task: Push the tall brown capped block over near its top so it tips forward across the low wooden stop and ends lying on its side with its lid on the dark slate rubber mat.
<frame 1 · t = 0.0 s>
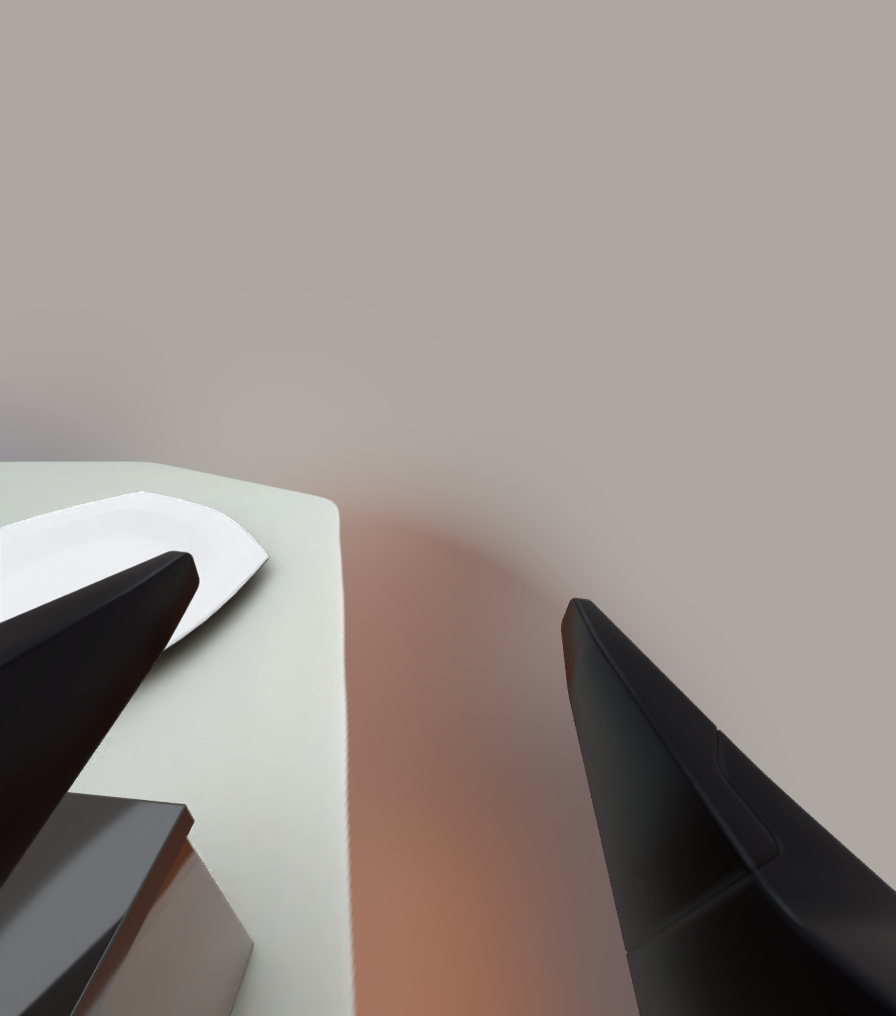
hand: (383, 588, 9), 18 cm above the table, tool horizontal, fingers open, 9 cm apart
plate: (93, 593, 31), on the table
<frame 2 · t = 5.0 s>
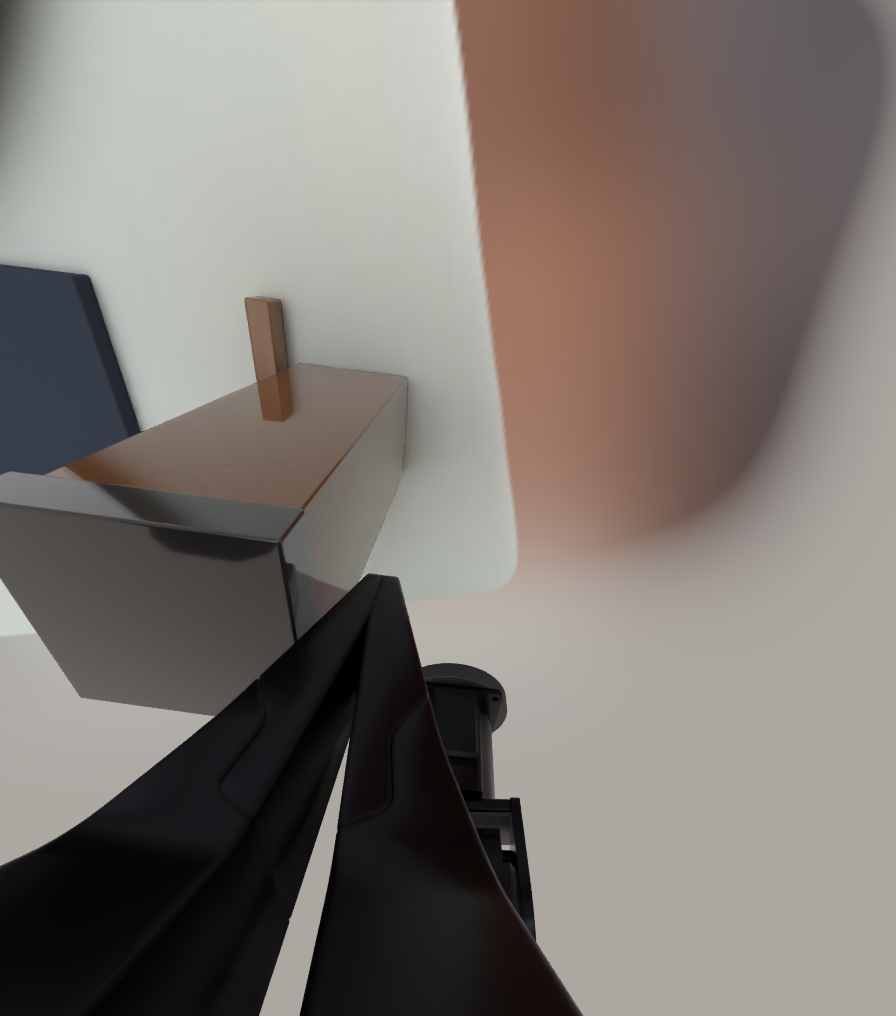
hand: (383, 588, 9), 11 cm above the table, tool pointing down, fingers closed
stop: (283, 414, 18), on the table
brown capped block: (354, 422, 18), on the table, touching gripper
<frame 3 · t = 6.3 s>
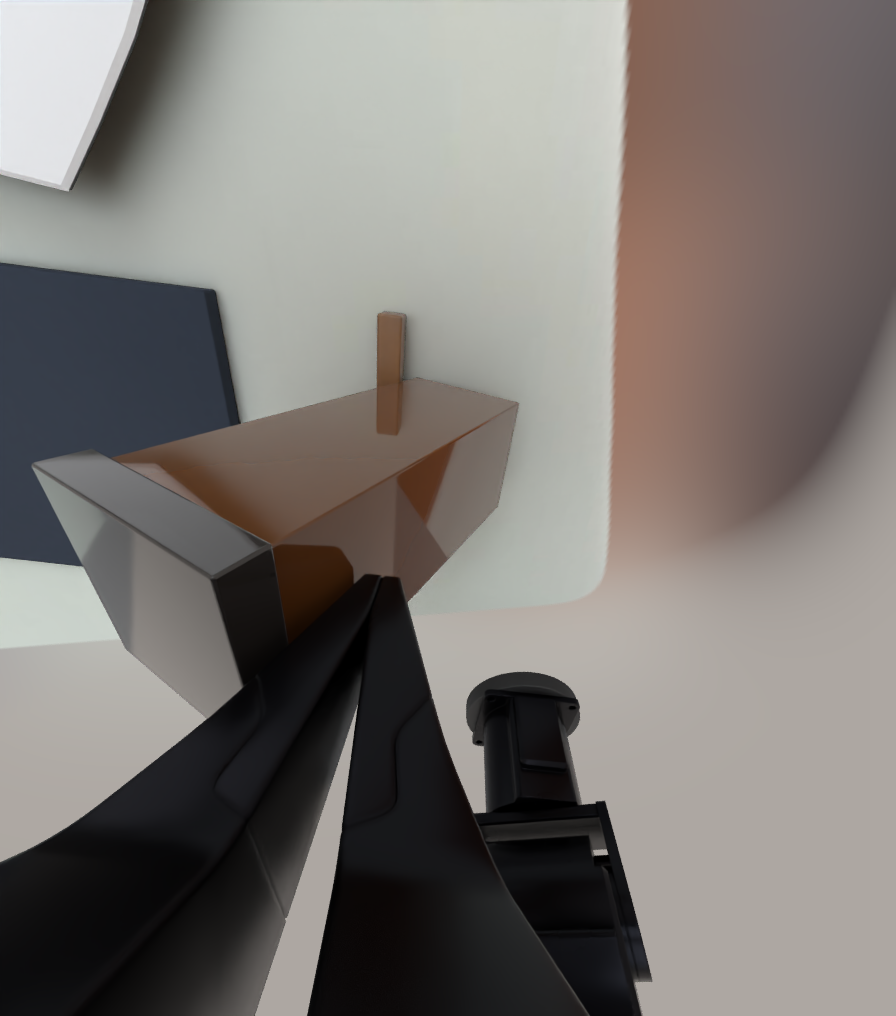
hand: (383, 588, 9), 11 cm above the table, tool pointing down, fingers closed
stop: (391, 426, 18), on the table
brown capped block: (458, 443, 18), point 1 cm above the table, tilted 27°, touching stop
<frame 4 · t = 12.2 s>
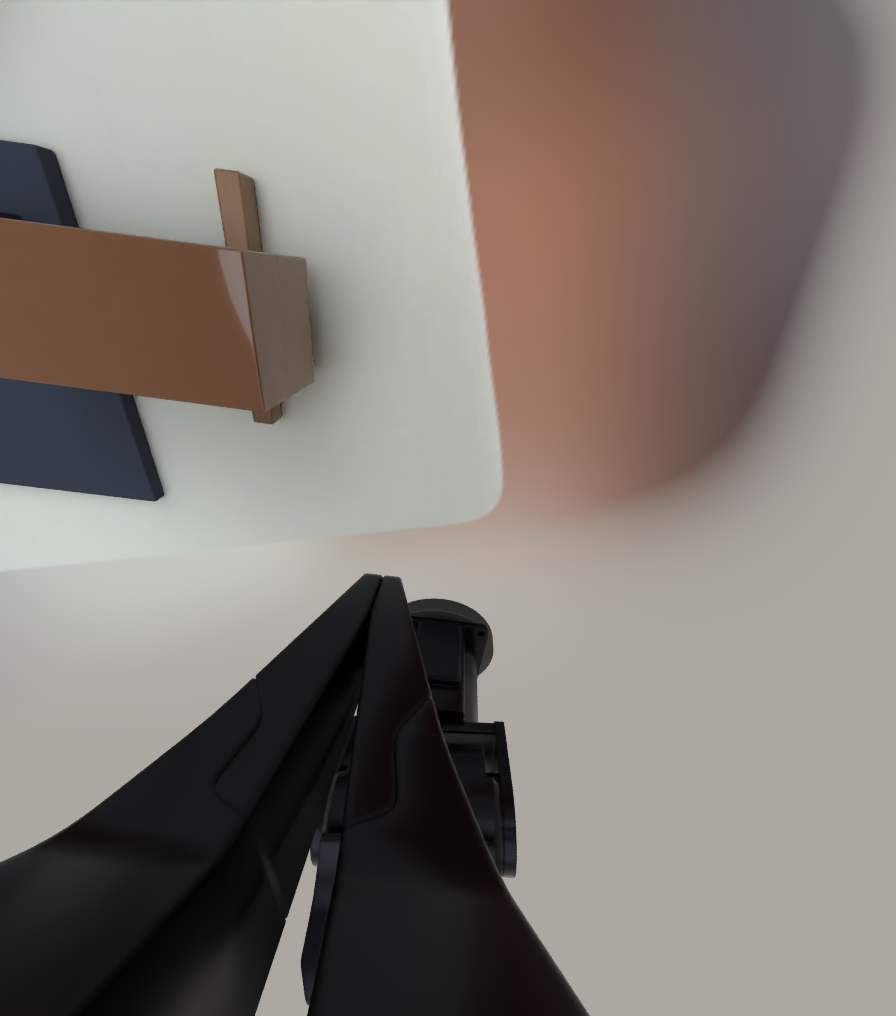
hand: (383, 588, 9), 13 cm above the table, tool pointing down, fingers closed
stop: (259, 314, 18), on the table
brown capped block: (286, 331, 15), point 4 cm above the table, tilted 91°, touching mat, stop
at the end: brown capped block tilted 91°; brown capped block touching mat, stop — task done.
